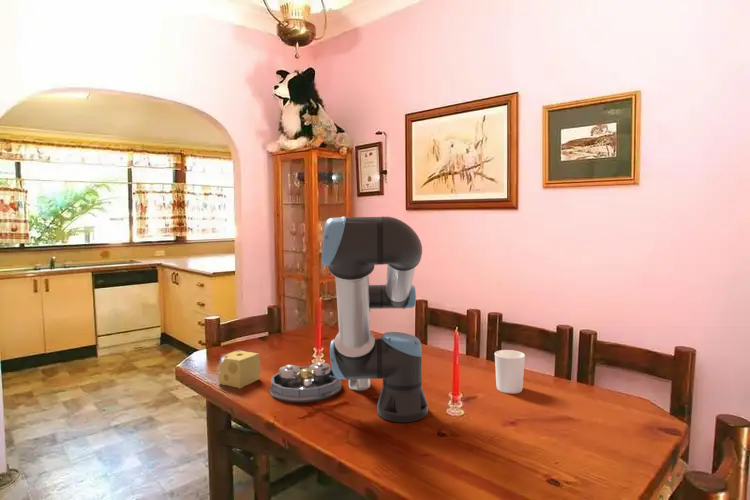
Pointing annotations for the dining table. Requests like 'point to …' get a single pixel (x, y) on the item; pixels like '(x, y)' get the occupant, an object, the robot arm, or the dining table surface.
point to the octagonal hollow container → (357, 384)
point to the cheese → (239, 369)
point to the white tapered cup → (509, 370)
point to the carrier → (304, 383)
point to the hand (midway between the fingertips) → (359, 379)
